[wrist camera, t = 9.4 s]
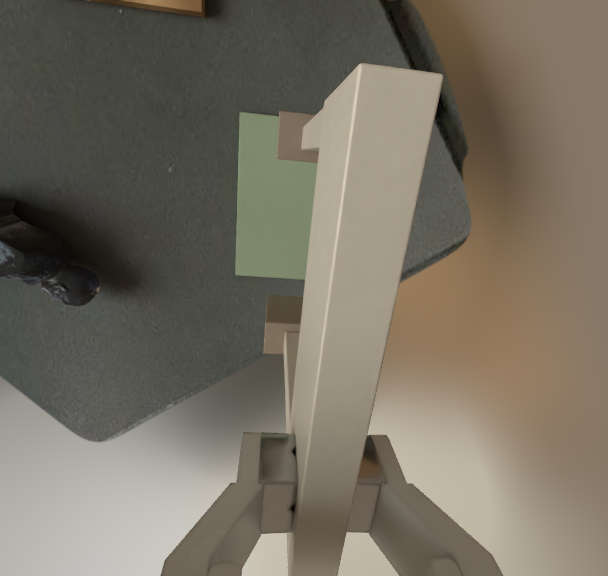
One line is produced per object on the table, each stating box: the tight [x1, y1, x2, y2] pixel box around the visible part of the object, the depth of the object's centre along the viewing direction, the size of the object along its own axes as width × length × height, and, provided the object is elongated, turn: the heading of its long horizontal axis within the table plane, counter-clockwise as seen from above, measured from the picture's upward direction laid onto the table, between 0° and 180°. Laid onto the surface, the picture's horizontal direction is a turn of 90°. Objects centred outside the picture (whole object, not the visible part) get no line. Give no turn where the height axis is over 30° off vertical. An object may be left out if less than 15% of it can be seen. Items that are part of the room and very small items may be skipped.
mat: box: [235, 112, 318, 280], centre depth 33 cm, size 10×15×1 cm, turn 174°
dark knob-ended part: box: [0, 199, 100, 306], centre depth 30 cm, size 6×13×6 cm, turn 55°
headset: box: [264, 63, 443, 576], centre depth 14 cm, size 3×12×16 cm, turn 174°
